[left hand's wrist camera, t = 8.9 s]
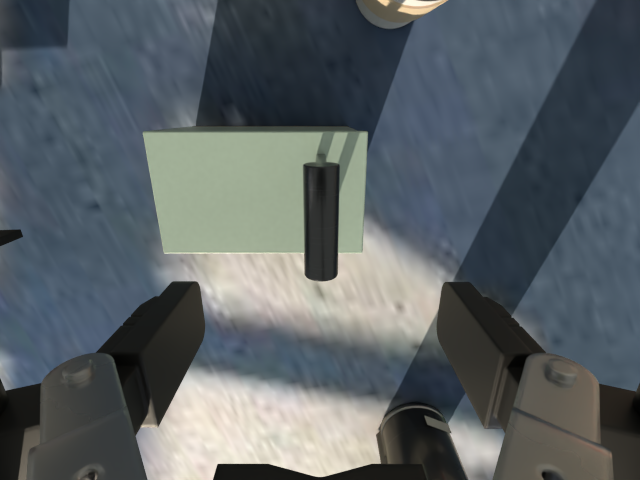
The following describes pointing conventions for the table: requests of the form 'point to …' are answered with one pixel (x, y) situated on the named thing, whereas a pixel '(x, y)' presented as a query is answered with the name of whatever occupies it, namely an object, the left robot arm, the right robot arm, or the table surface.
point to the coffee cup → (395, 11)
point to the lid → (261, 193)
